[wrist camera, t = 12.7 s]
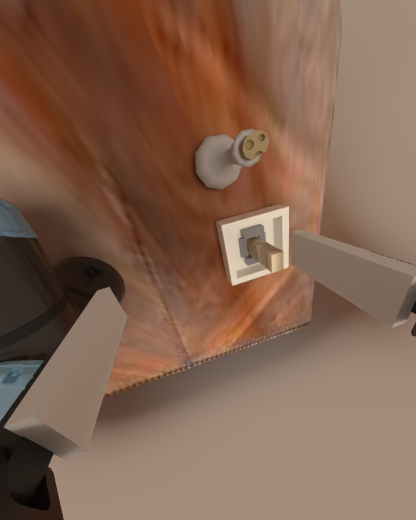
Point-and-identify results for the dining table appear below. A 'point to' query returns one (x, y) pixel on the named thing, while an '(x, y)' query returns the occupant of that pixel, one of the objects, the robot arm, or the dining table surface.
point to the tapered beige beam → (265, 254)
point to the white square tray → (247, 226)
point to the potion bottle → (228, 156)
